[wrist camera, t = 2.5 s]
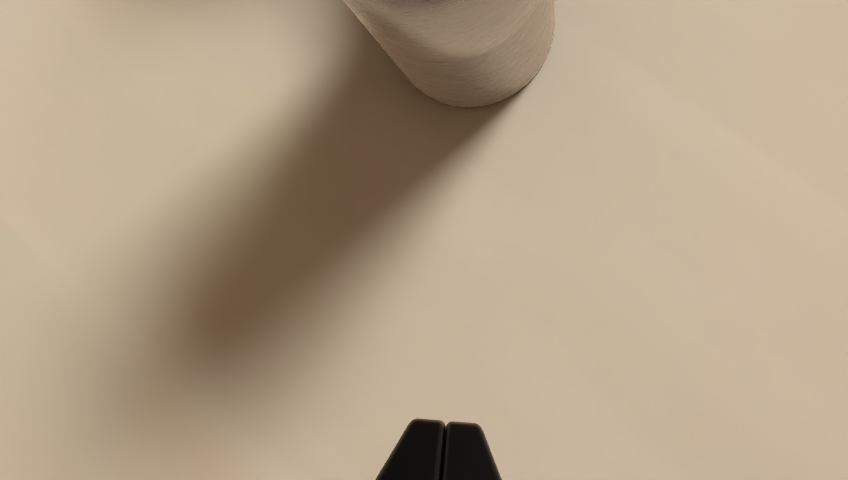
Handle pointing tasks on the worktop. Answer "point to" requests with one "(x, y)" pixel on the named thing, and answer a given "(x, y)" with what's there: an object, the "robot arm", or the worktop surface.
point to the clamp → (462, 44)
